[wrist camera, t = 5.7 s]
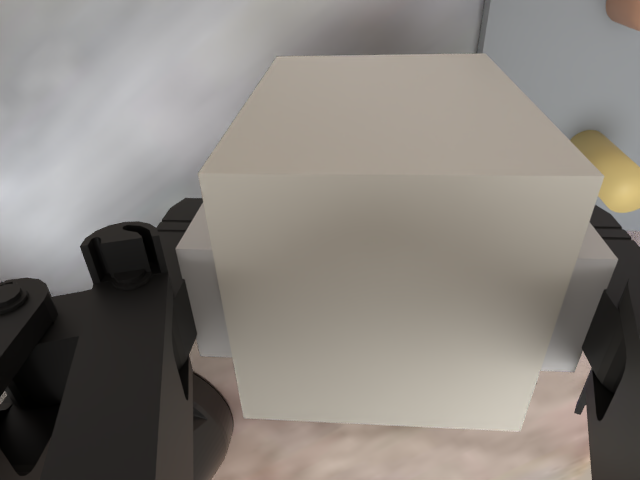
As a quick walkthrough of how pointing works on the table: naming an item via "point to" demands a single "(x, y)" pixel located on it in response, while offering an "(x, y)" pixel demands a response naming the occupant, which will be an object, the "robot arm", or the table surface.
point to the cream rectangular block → (393, 240)
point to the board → (579, 81)
